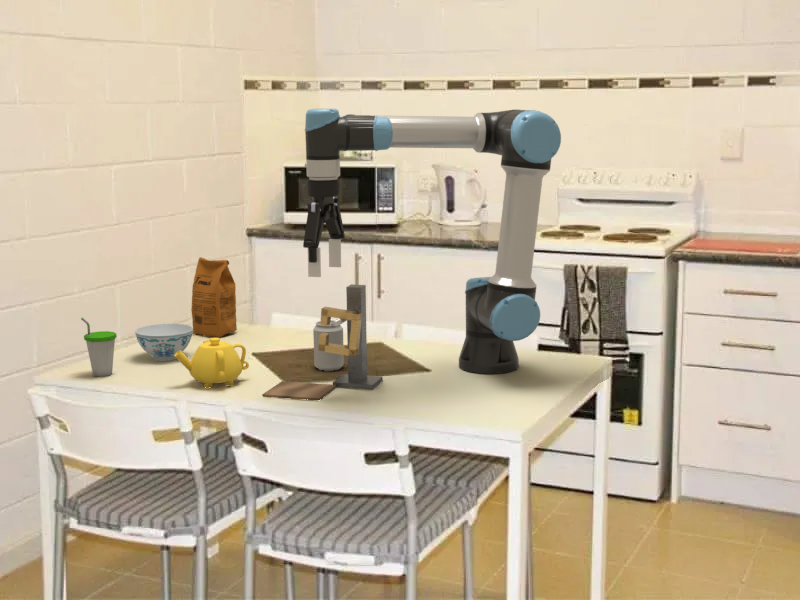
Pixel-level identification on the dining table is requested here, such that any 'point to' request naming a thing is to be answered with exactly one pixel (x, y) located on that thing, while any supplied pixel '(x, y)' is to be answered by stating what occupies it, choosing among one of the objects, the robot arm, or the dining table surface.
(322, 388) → the walnut board
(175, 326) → the chinaware
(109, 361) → the cup
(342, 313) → the c link
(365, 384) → the stand
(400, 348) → the dining table surface
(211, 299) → the coffee package
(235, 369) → the teapot
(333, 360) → the can
